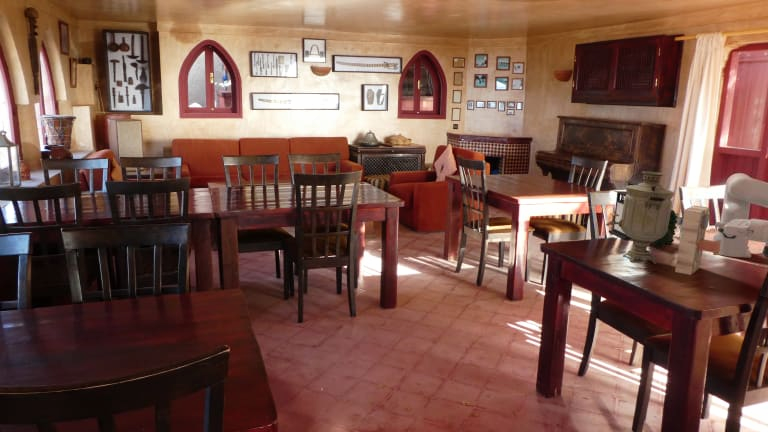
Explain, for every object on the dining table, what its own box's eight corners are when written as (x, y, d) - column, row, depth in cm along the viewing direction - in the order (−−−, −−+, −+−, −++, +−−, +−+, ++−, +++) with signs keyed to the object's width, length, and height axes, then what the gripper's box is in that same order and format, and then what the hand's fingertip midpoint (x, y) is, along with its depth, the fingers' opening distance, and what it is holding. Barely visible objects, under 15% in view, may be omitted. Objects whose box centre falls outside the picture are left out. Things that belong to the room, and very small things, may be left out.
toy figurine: (659, 243, 298) (642, 246, 280) (665, 208, 295) (649, 209, 277) (678, 247, 291) (662, 250, 273) (685, 211, 289) (669, 212, 271)
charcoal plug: (683, 223, 245) (685, 211, 244) (707, 227, 239) (709, 214, 238) (680, 225, 241) (682, 212, 240) (704, 229, 235) (706, 216, 234)
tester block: (684, 264, 252) (694, 205, 246) (699, 267, 248) (709, 207, 242) (675, 271, 240) (684, 209, 234) (690, 275, 236) (700, 211, 230)
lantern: (638, 233, 313) (646, 170, 306) (655, 240, 297) (664, 174, 290) (608, 232, 312) (616, 169, 305) (623, 239, 295) (632, 173, 288)
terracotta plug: (695, 248, 243) (697, 236, 242) (719, 252, 237) (721, 240, 236) (691, 250, 239) (693, 238, 238) (716, 255, 233) (718, 242, 232)
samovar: (605, 247, 277) (615, 166, 269) (664, 255, 266) (676, 171, 258) (599, 261, 251) (610, 172, 243) (664, 271, 240) (678, 178, 232)
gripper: (748, 241, 218) (708, 235, 227) (757, 233, 233) (719, 228, 242) (751, 225, 217) (711, 220, 226) (760, 218, 232) (722, 213, 241)
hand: (715, 224), depth 234 cm, fingers closed
